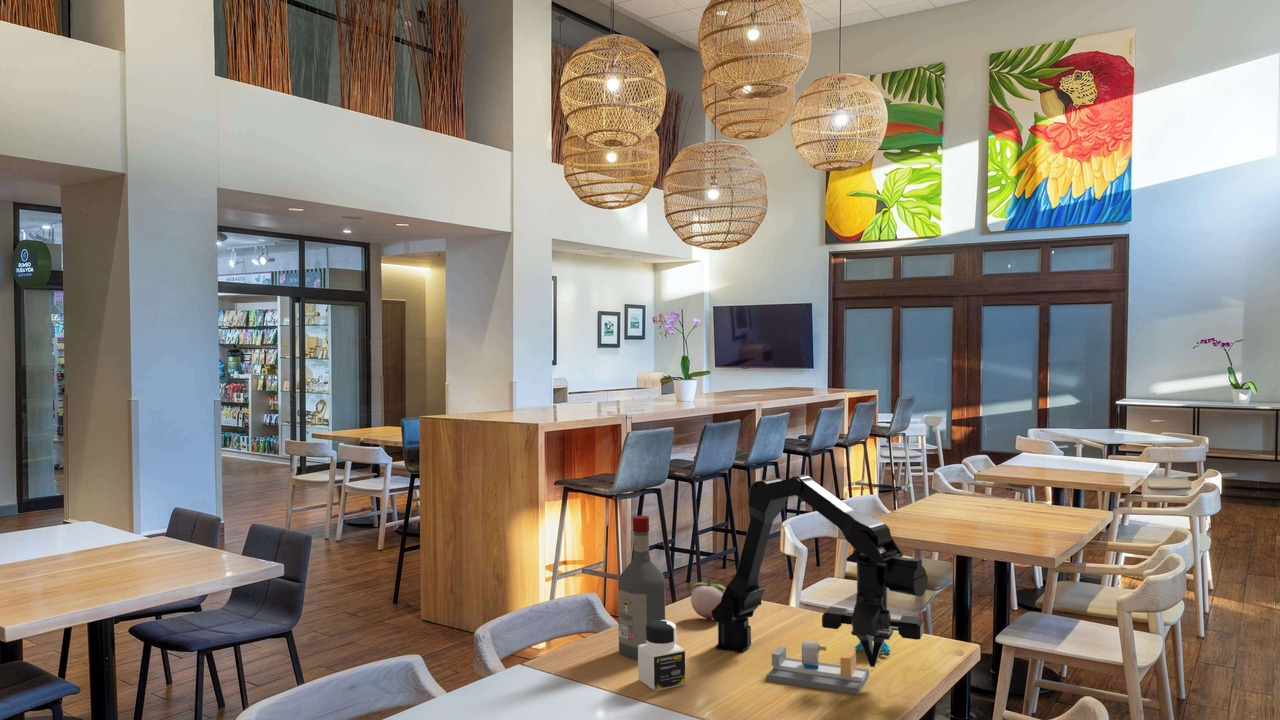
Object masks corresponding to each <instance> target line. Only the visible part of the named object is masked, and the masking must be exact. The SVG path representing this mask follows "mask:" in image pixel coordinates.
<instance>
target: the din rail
mask: <svg viewBox="0 0 1280 720" xmlns="http://www.w3.org/2000/svg"><path fill="white" fill-rule="evenodd" d="M771 666H772V669H771V670H770V671H769V672H768V673H767V674H766V675H767V678H766V679H767V682H775V683H779V684H780V683H781V684H787V685H794V686H799V687H806V688H812V689H820V690H825V691H831V692H837V693H844V694H849V695H856V696H859V694H860V693H861V691H862V689H863V688H864V686H865V683H866V682H867V680H868V678H869V677H870V669H868V668H867V669H866V668H862V667H856V670H855V672H854V673H853V675H852V676H851V677H846V676H841V664H840V665H839V664H835V663H828V662H827V663H825V662H821V661H820V662H819V667H818V669H811V668H804V665H802V659H799V658H792V657H787V647H786V646H781V645H780V646H777V647H776V648H775V649H774V651H772V653H771Z"/></svg>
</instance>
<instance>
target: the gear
mask: <svg viewBox="0 0 1280 720" xmlns="http://www.w3.org/2000/svg"><path fill="white" fill-rule="evenodd" d="M872 642H874V637H873V636H872ZM854 648H855V651H856V652H859V651H860V650H861V649H862V648H863V645H862V643H861V641H860V640H859V643H858V644H857V645H856V646H854ZM881 651H882V652H883V653H884V654H889V653H890V652H891V651H892V650H891V648H890V646H889V644H888V643H887V642H885V641H884V642H883V644H882V647H881Z"/></svg>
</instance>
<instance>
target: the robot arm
mask: <svg viewBox="0 0 1280 720" xmlns="http://www.w3.org/2000/svg"><path fill="white" fill-rule="evenodd" d="M793 496H796V497H798V498H799V499H800V500H801V501H803V502H804V503H805V504H807V505H808V506H809V507H810V508H812V509H813V510H815V511H816V512H818V513H819V514H820V515H821V516H823V517H824V518H826V520H828V521H829V522H830V523H831V524H833V525H834V526H835V527H837V528H838V529H839V530H840V531H841V532H842V534H843V536H844V538H845V541H846V542H848V544H850V545H851V546H852V547H853V549H854V551H852V553H851V554H850V555H849V556H847V557H846V561H847V562H850V563H855V564H856V602H855V605H854V608H853V612H852V614H849V612H848V609H847V608H845V607H844V608H843V607H835V606H829V607H828V608H827V609H826V610H825V611H824V613H823V614H822V616H821V627H822V628H824V629H833V630H838V629H839V628H840V627H842V625H843V624H844V625H851V627H852V628H851V629H852V630H851V631H850V632H851V635H852V636H855V637H856V638H857V639H859V642H860V641H861V643H862V645H863V647H862V648H863V650H864V653H865V656H866V659H867V661H868V664H869V667H870V668H876V664H877V662H878V658H879V656H880V652H881V651H882V648H881V647H882V644H883V642H885V641H886V640H890V639H891V637H892V635H893V634H894V631H897V632H898V635H900V637H901V638H903V639H907V640H908V639H909V640H921V638H922V637H923V634H924V632H925V628H924V623H925V622H924V620H923V619H922V618H921V616H920V617H919V616H910V615H902V616H901V617H900V619H899V620H897V619H892V618H891V612H890V610H889V609H888V590H889V591H891V592H893V593H899V594H903V595H907V596H914V597H919V598H920V597H922V596H923V595H925V593H926V590H927V586H928V577H929V576H928V574H927V571H926V568H925V567H924V566H923V560H922V559H921V558H908V557H904V556H903V552H902V551H901V549H900V548H899V546H898V544H897V543H896V541H895V540H894V538H893V537H892V534H891V529H890V527H889V526H888V525H887V524H886V523H885V522H883V521H881V520H879V519H877V518H875V517H873V516H871V515H868V514H865V513H861V512H858V511H856V510H854V509H853V508H851V507H850V506H849V505H847V504H846V503H844V502H843V501H842V500H841V499H839V498H838V497H837V496H835V495H834V494H833V493H831V492H830V491H828V490H827V489H825V488H824V487H823V486H821V485H820V484H819V483H817V482H816V481H815V480H814V479H813V478H812V477H811V476H810V475H808V474H799V475H793V476H791V477H789V478H786V479H780V478H778V477H775V478H773V477H772V478H767V479H763V480H757V481H755V482H753V483H751V486H750V487H749V492H748V502H747V505H748V509H749V512H750V520H749V524H748V528H747V530H746V534H745V539H744V541H743V546H742V551H741V553H740V558H739V561H738V565H737V569H736V572H735V575H734V576H733V578H731V580H729V583H728V584H727V585H726V586H725V588H726V589H725V591H724V593H723V595H722V598H721V602H720V603H719V604H718V605H717V606H716V607H715V608H714V609H713V610H712V616H713V618H712V620H713V622H716V623H717V639H718V640H717V644H716V645H715V649H718V650H726V651H732V652H739V653H742V652H744V651H745V650H747V649H748V648H749V647H750V645H752V625H750V624H749V622H750V620H749V618H752V617H753V615H754V613H755V610H757V608H758V607H759V606H761V605H762V597H763V595H764V593H765V589H764V587H761V586H760V584H759V583H760V582H759V581H758V579H759V575H760V571H761V567H762V564H763V560H764V557H765V556H764V555H765V552H766V549H767V545H768V541H769V537H770V534H771V529H772V527H773V526H772V525H773V523H774V521H775V519H776V518H777V516H778V515H779V514H780V512H781V511H782V510H783V509H784V507H785V504H786V503H787V500H788V498H789V497H793ZM880 551H884V552H880ZM872 636H873V637H874V641H872Z"/></svg>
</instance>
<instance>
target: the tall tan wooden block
mask: <svg viewBox="0 0 1280 720" xmlns="http://www.w3.org/2000/svg"><path fill="white" fill-rule="evenodd" d="M839 659H840V660H839V661H840V665H841V676H846V677H851V676H852V675H853V673H854V672H855V670H856V668H857V650H852V649H844V651H843V653H842V654H841V655H840V657H839Z"/></svg>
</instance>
